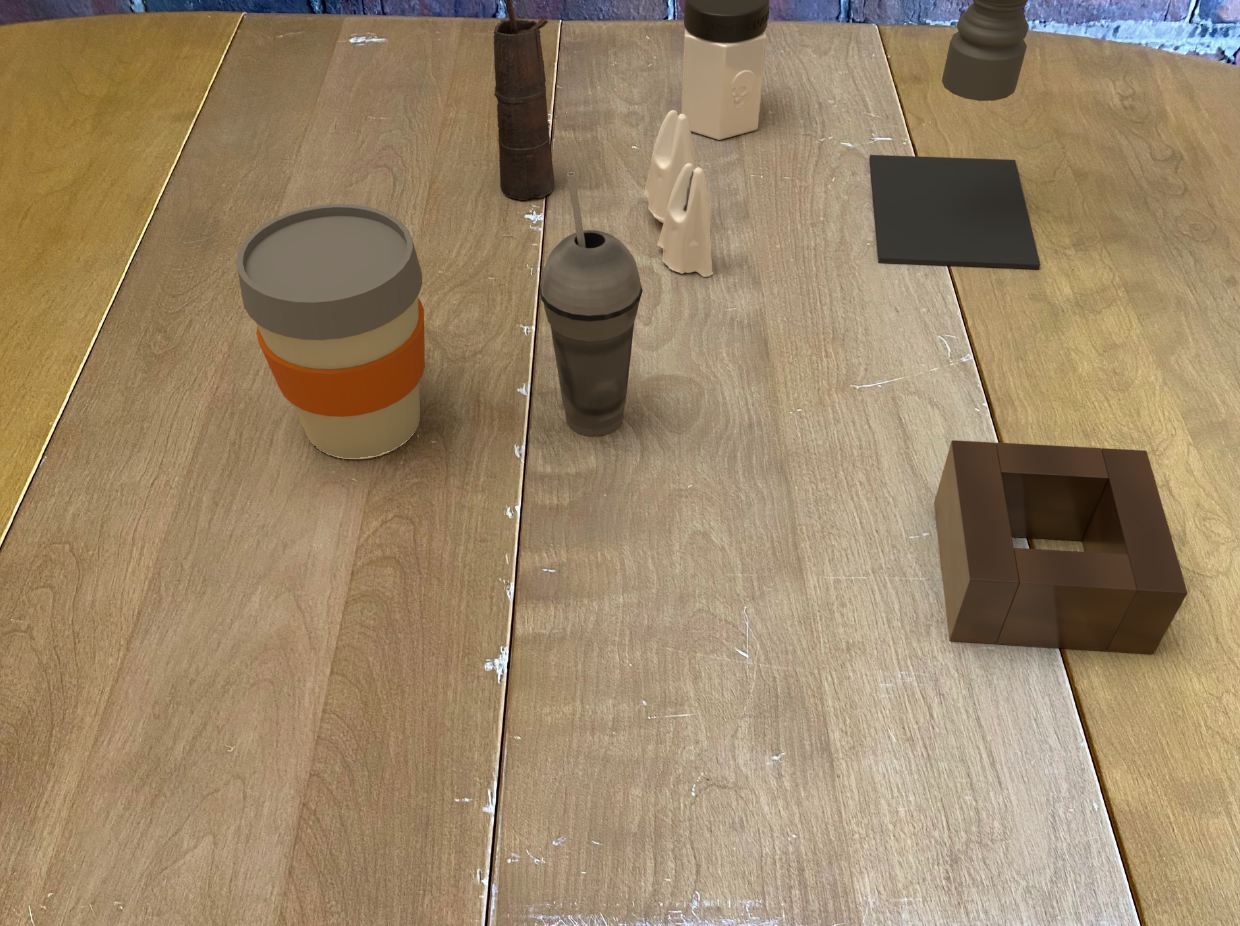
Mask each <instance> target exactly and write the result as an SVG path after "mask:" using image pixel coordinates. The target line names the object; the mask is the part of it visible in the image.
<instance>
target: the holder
mask: <svg viewBox="0 0 1240 926" xmlns="http://www.w3.org/2000/svg"><path fill="white" fill-rule="evenodd" d="M934 498H935V499H934V501H933V506H934V515H935V525H936V533H937V542H938V551H939V552H938V553H939V560H940V567H941V568H940V569H941V576H942V577H941V578H942V584H943V585H942V586H943V596H944V603H945V604H944V605H945V613H946V621H947V629H948V638H949V639H948V640H949V641H950V642H960V643H961V642H962V643H975V644H976V643H979V644H991V645H992V644H993V645H1003V646H1004V645H1005V646H1020V647H1035V648H1049V649H1050V648H1051V649H1066V650H1079V651H1094V652H1113V653H1126V654H1127V653H1128V654H1129V653H1130V654H1142V655H1143V654H1146V655H1155V653H1156V651H1157V649H1158V647H1159V645H1160V644H1161V642H1162V640H1163V638H1164V636H1165V634H1166V633H1167V631H1168V629H1169V627H1170V626H1171V624H1172V622H1173V620H1174V618H1175V617H1176V615H1177V613H1178V612H1179V610H1180V608H1181V606H1182V604H1183V602H1184V601H1185V599H1186V598H1187V595H1188V589H1187V586H1186V582H1185V578H1184V574H1183V571H1182V569H1181V564H1180V561H1179V558H1178V554H1177V551H1176V548H1175V544H1174V541H1173V538H1172V534H1171V531H1170V527H1169V524H1168V523H1169V522H1168V521H1167V516H1166V513H1165V510H1164V506H1163V502H1162V499H1161V496H1160V492H1159V487H1158V486H1157V482H1156V478H1155V475H1154V472H1153V468H1152V464H1151V461H1150V457H1149V454H1148V450H1145V449H1125V448H1110V447H1109V448H1108V447H1107V448H1106V447H1102V448H1101V447H1090V446H1089V447H1088V446H1074V445H1073V446H1069V445H1052V444H1034V443H1033V444H1032V443H1014V442H990V441H973V440H956V439H955V440H954V439H953V440H951V442H950V444H949V449H948V451H947V456H946V459H945V462H944V466H943V470H942V472H941V476H940V480H939V484H938V488H937V491H936V494H935V497H934ZM1013 538H1025V539H1026V538H1027V539H1028V538H1030V539H1043V540H1044V539H1045V540H1046V539H1047V540H1061V541H1062V540H1064V541H1079V542H1082V546H1083V550H1084V551H1075V550H1074V551H1073V550H1059V549H1058V550H1057V549H1039V548H1024V547H1014V542H1013Z"/></svg>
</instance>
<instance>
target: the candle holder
mask: <svg viewBox="0 0 1240 926" xmlns="http://www.w3.org/2000/svg"><path fill="white" fill-rule="evenodd" d="M972 2H973V3H972V4H970V5H969V6H968V7H967V9H966V10H965V11H964V12H963V13H962V14H960V16H959V19H958V21H957V23H956V29H957V32H955V33H954V34H953V35H952V36H951V39H950V41H949V45H948V50H947V54H946V59H945V63H944V68H943V74H942V78H941V82H942V85H943V88H944V89H946V91H948V92H950V93H951V94H952V95H955V96H958V97H961V98H963V99H966V100H970V101H971V100H972V101H978V102H994V101H999V100H1003V99H1006V98H1008V97H1011V95H1013V94H1015V92H1016V89H1017V87H1018V82H1019V79H1020V74H1021V70H1022V67H1023V64H1024V59H1025V55H1026V53H1027V49H1028V45H1027V43H1026V42H1025V40H1024V39H1025V38H1026V37H1027V34H1028V32H1029V30H1030V26H1029V23H1028V21H1027V19H1026V17H1027V16H1026V15H1025V12H1024V10H1023V8H1024V7H1026V6H1027V4H1028V2H1029V0H972Z"/></svg>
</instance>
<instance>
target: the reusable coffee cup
mask: <svg viewBox="0 0 1240 926" xmlns="http://www.w3.org/2000/svg"><path fill="white" fill-rule="evenodd" d="M236 269H237V274H238V279H239V287H240V292H241V298H242V304H243V307H244V310H245V312H246V313H247V314H248V316H249V318H250V319H251V320H253V321H254V322H255V324H256V339H257V343H258V345H259V347H260V349H261V352H262V354H263V356H264V359H265V360H266V362H267V364H268V367H269V369H270V371H271V373H272V375H273V378H274V380H275V382H276V384H277V387H278V389H279V390H280V393H282V394H281V395H282V396H283V398H285V399H286V400H287V401H288V402H290V404H292V406H293V408H294V410H295V413H296V415H297V418H298V419H299V421H300V424H301V426H302V428H303V431H304V433H305V435H306V438H307V439H308V438H309V439H308V441H309V440H310V441H309V442H310V444H311V443H313V444H314V445H315V446H316V447H317V448H318V449H320V450H321V451H324V452H325V453H328V454H331V455H334V456H339V457H343V458H360V457H368V456H376V455H379V454H381V453H383V452H387V451H391V450H392V449H394V448H395V447H398V446H400V445H401V444H402V443H404V442H405V441H406V440H408V439H409V437H411V435H412V434H413V433H414V432H415V431H416V432H417V430H418V429H417V427H418V428H419V426H418V425H420V423H419V422H420V421H421V394H420V393H421V392H420V391H421V388H420V387H421V384H420V381H421V379H422V378H423V375H424V371H425V368H426V358H425V356H426V355H425V354H426V353H425V352H426V349H425V345H426V343H425V309H424V307H423V304H422V301H421V299H420V298H419V295H420V292H421V290H422V286H423V272H422V268H421V264H420V261H419V258H418V254H417V251H416V247H415V244H414V240H413V237H412V234H411V232H410V230H409V228H408V227H407V226H406V225H405V224H404V223H403V222H402V221H401V220H399V219H398V218H397V217H395V216H394V215H392V214H390V213H388V212H386V211H384V210H381V209H378V208H374V207H371V206H365V205H359V204H351V203H349V204H347V203H333V204H332V203H330V204H319V205H313V206H309V207H303V208H300V209H296V210H292V211H289V212H285V213H284V214H281V215H279V216H277V217H275V218H272V219H270V220H269V221H267V222H265V223H263V224H262V225H260V226H259V227H258V228H256V229H255V230H254V231H253V232H252V233H250V234H249V235H248V237H246V239H245V240H244V241H243V242H242V243H241V246H240V248H239V250H238V252H237V256H236ZM416 429H417V430H416ZM416 432H415V433H416ZM321 451H320V452H321Z"/></svg>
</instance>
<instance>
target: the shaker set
mask: <svg viewBox="0 0 1240 926" xmlns="http://www.w3.org/2000/svg"><path fill="white" fill-rule="evenodd" d="M651 153H652V154H651V157H650V158H651V160H650V167H649V171H648V175H647V178H646V182H645V186H644V191H643V193H642V194H643V196H644V197H645V199H646V200H647V202H648V206H647V209H648V211H649V212H650V213H651V214H652V216H653V217H654V218H655V219H656V220H657V221H659V222H660V223H661V224H662V227H661V230H660V234H659V237H658V241H657V243H656V244H657V246H658V247H659V248H661V249H662V259H661V261H662V263H663V264H665V265H666V266H667V267H668V269H669V270H672V271H673V272H675V273H676V272H677V273H679V274H681V275H682V274H684V273H686V274H689V273H690V274H691V273H693V272H696V273H698V274H699V275H700V276H702V277H704V278H707V277H708V278H709V277H711V276H713V275H714V272H713V261H712V247H711V246H712V245H711V243H712V242H711V225H712V223H711V222H712V205H711V198H710V193H709V192H710V191H709V188H708V187H709V186H708V182H707V177H706V174H705V171H704V170H703V169H702V167H699V166H697V167H696V152H695V147H694V141H693V136H692V132H691V130H690V126H689V122H688V119H687V117H686V116H685V115H684V114H681V113H679V114H678V112H677V111H676V110H675V109H672V110H669V112H667V114H666V115H665V117H664V119H663V122H662V124H661V126H660V128H659V131H658V134H657V136H656V139H655V142H654V147H653V149H652V152H651Z"/></svg>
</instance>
